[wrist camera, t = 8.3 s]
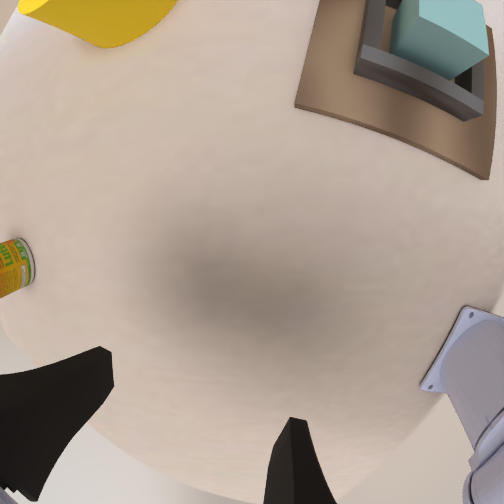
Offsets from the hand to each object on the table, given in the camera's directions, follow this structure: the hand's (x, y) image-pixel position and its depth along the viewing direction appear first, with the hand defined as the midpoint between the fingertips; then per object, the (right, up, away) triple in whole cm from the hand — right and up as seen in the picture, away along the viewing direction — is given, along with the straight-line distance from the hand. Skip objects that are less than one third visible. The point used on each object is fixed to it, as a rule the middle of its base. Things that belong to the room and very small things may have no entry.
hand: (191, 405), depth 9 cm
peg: (+13, +19, +3) cm, 23 cm away
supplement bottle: (-23, +5, +14) cm, 28 cm away
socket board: (+13, +19, +4) cm, 24 cm away
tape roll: (-8, +27, +6) cm, 29 cm away
